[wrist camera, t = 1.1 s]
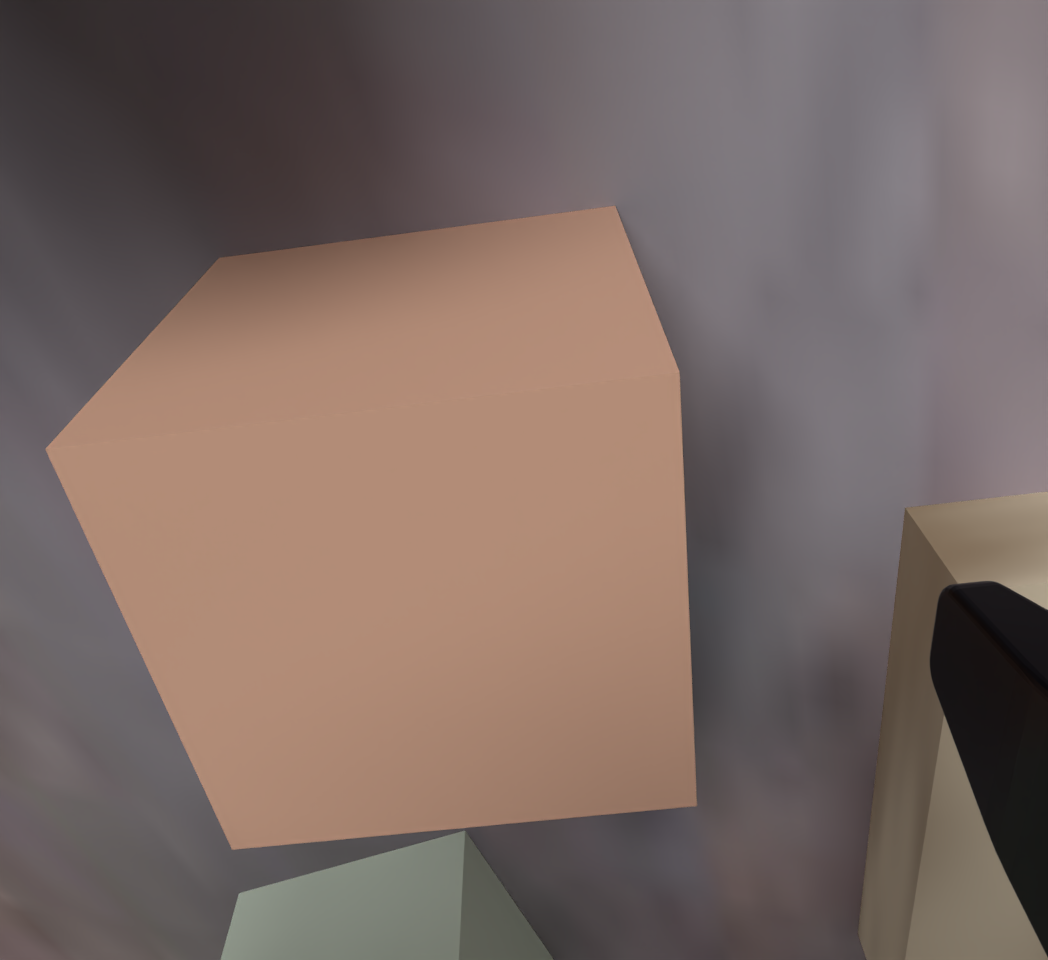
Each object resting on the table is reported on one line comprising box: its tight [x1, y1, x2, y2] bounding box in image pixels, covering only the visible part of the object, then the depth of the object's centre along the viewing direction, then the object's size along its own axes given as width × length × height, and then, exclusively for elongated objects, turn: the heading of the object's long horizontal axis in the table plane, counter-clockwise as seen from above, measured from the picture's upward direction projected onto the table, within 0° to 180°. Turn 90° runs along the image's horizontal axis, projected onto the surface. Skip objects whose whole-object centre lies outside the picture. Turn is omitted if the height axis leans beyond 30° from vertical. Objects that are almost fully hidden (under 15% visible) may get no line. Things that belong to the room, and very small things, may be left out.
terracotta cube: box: [46, 206, 697, 850], centre depth 10 cm, size 5×5×5 cm
